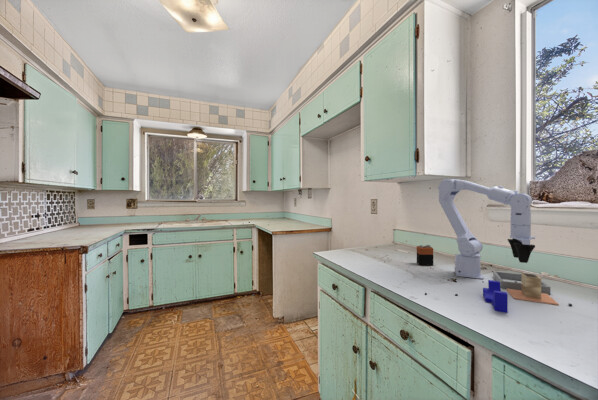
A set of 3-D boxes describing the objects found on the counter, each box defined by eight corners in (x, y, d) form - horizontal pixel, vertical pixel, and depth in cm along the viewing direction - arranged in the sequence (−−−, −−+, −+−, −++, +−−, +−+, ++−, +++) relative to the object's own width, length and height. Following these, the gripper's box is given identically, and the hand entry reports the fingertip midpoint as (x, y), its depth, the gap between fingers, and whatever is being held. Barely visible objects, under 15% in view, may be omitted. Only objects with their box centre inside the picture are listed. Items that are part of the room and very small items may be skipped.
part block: (525, 296, 82) (525, 276, 82) (521, 292, 86) (521, 272, 86) (541, 299, 80) (541, 278, 80) (536, 294, 84) (536, 274, 84)
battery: (433, 265, 121) (433, 246, 120) (419, 265, 121) (419, 246, 121) (430, 263, 125) (429, 244, 125) (416, 263, 126) (416, 244, 126)
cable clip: (483, 295, 85) (482, 279, 85) (499, 298, 83) (499, 281, 83) (488, 310, 75) (488, 291, 75) (507, 313, 73) (507, 294, 72)
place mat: (513, 298, 82) (513, 297, 82) (506, 289, 90) (506, 288, 90) (558, 305, 77) (558, 304, 77) (546, 294, 84) (546, 293, 84)
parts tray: (501, 287, 91) (501, 281, 91) (493, 276, 103) (493, 271, 103) (550, 294, 85) (550, 287, 85) (535, 281, 97) (535, 275, 97)
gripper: (542, 227, 83) (541, 266, 84) (528, 222, 96) (528, 256, 96) (515, 226, 87) (515, 263, 87) (505, 222, 100) (505, 254, 100)
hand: (520, 259), depth 92 cm, fingers open, 7 cm apart
